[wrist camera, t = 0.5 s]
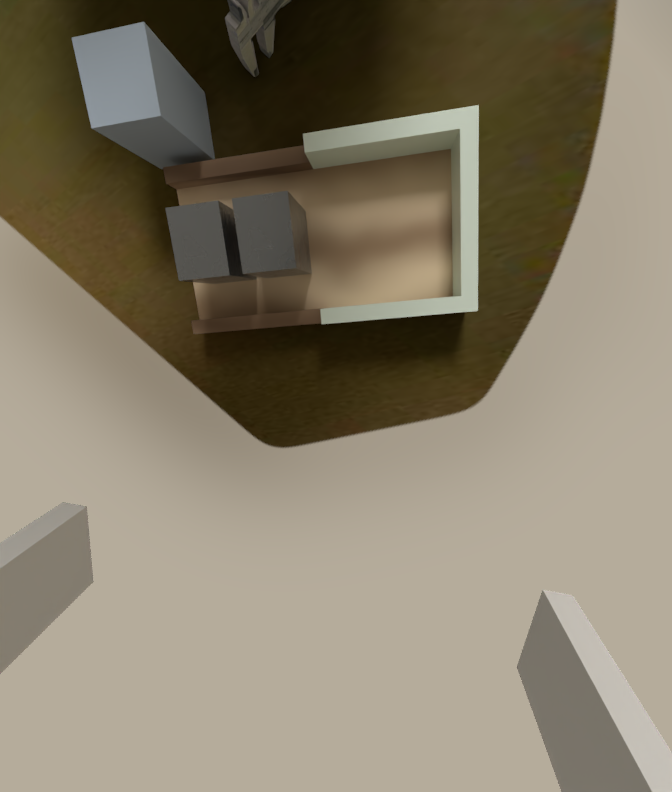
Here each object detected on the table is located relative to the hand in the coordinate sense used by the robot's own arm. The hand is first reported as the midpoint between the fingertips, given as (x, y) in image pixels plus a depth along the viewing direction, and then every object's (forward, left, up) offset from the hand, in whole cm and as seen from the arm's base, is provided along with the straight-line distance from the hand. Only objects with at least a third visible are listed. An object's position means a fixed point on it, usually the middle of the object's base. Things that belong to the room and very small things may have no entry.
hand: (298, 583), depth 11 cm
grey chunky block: (-13, -5, -24) cm, 28 cm away
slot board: (-13, -2, -25) cm, 28 cm away
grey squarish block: (-13, -10, -24) cm, 29 cm away
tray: (-13, +4, -25) cm, 29 cm away
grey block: (-23, -13, -25) cm, 37 cm away
